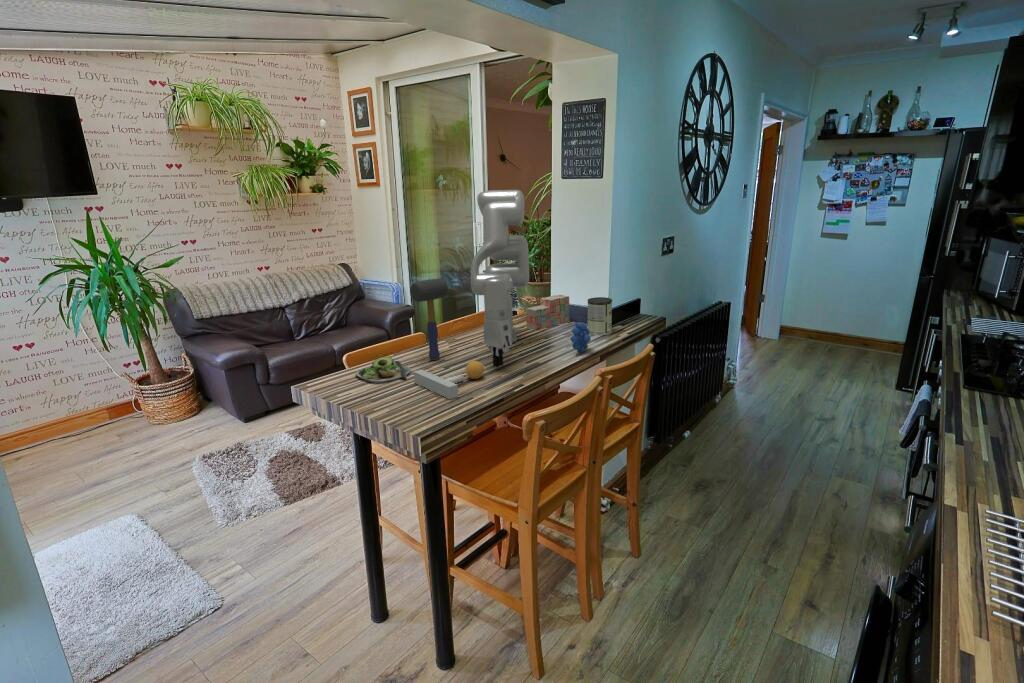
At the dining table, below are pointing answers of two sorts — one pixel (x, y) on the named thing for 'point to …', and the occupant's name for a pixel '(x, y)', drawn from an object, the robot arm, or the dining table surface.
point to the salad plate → (383, 370)
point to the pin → (456, 378)
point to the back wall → (436, 384)
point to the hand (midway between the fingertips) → (498, 365)
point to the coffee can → (599, 315)
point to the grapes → (580, 337)
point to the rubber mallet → (430, 308)
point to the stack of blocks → (548, 312)
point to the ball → (474, 369)
